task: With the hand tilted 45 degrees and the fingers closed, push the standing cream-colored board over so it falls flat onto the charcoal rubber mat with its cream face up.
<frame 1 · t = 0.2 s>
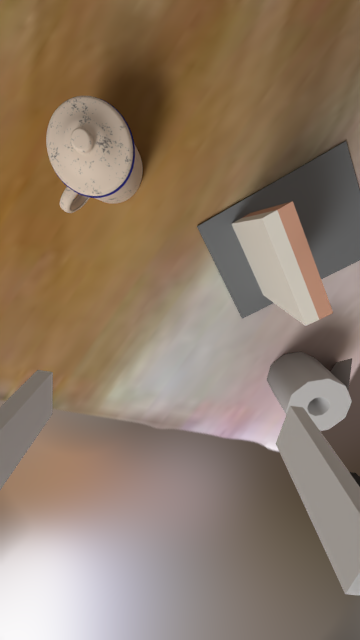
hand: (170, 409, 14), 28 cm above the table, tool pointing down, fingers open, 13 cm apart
teacup with lid: (105, 178, 35), on the table
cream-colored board: (257, 256, 38), resting on mat
toilet tissue: (300, 372, 45), on the table
mat: (287, 239, 38), on the table
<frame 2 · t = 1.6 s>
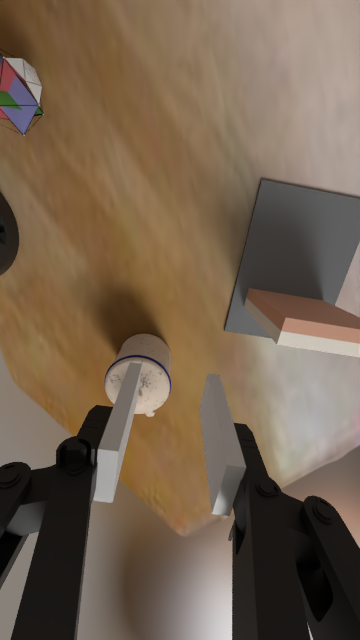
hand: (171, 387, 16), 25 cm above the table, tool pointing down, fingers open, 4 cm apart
teacup with lid: (147, 363, 43), on the table
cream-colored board: (283, 303, 39), resting on mat
geometric puzzle: (25, 106, 31), on the table
mat: (292, 271, 38), on the table
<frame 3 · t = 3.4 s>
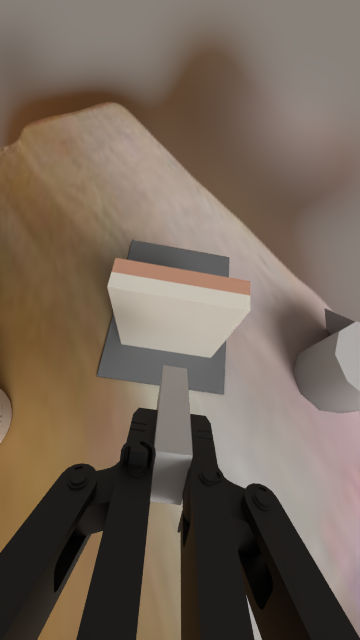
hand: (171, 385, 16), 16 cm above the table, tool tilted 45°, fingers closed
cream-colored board: (168, 340, 34), resting on mat
toilet tissue: (324, 368, 36), on the table
mat: (172, 309, 37), on the table
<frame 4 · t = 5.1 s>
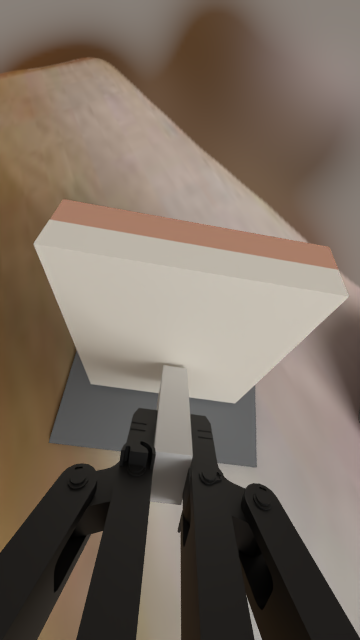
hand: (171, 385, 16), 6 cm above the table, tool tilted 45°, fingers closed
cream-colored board: (166, 376, 22), point 1 cm above the table, tilted 10°, touching gripper, mat
mat: (172, 327, 24), on the table
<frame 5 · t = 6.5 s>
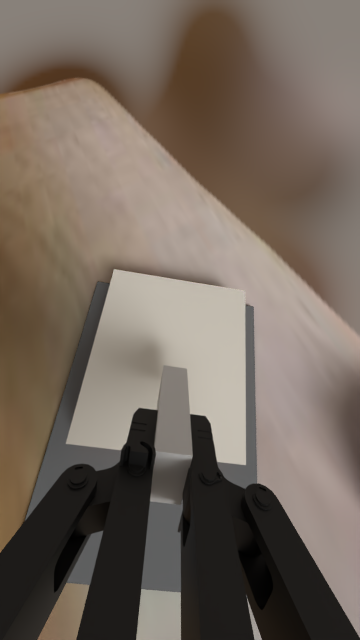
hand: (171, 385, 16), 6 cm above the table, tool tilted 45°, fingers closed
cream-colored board: (156, 453, 18), point 2 cm above the table, tilted 90°, touching mat
mat: (161, 408, 21), on the table
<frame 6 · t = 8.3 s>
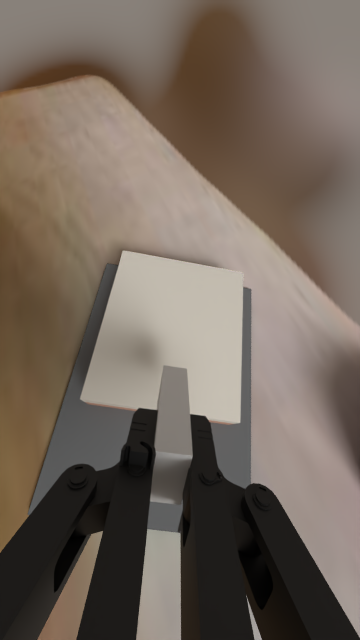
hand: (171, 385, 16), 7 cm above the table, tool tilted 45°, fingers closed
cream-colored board: (160, 413, 20), point 2 cm above the table, tilted 90°, touching mat
mat: (164, 376, 23), on the table
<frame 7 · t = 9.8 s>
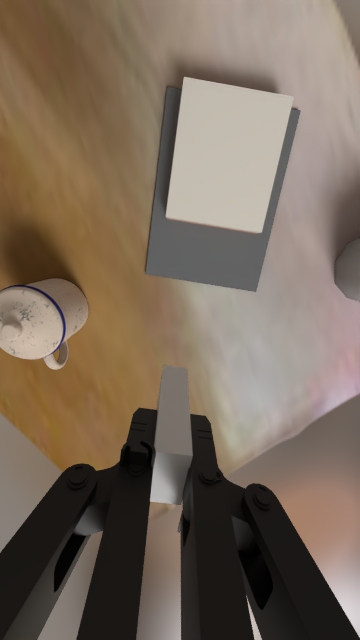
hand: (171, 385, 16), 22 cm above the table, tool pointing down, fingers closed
teacup with lid: (64, 315, 38), on the table
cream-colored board: (212, 225, 32), point 2 cm above the table, tilted 90°, touching mat
mat: (215, 200, 33), on the table
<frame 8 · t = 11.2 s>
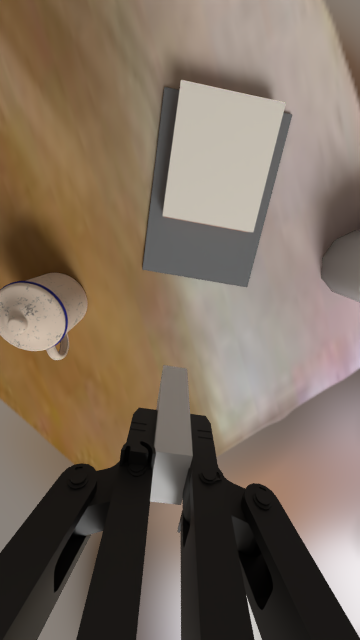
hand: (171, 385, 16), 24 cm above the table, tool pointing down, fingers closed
teacup with lid: (64, 308, 40), on the table
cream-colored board: (207, 224, 34), point 2 cm above the table, tilted 90°, touching mat
toilet tissue: (356, 254, 38), on the table
mat: (210, 199, 35), on the table
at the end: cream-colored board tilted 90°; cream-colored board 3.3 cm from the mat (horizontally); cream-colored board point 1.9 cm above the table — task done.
